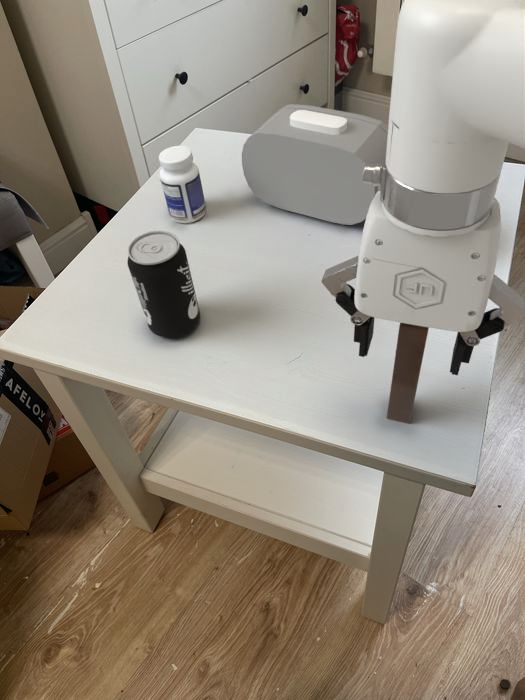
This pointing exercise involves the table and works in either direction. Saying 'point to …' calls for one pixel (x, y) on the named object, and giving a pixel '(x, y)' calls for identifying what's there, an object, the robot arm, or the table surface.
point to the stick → (406, 371)
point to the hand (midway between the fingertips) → (409, 353)
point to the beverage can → (163, 283)
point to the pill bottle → (181, 184)
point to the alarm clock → (315, 162)
